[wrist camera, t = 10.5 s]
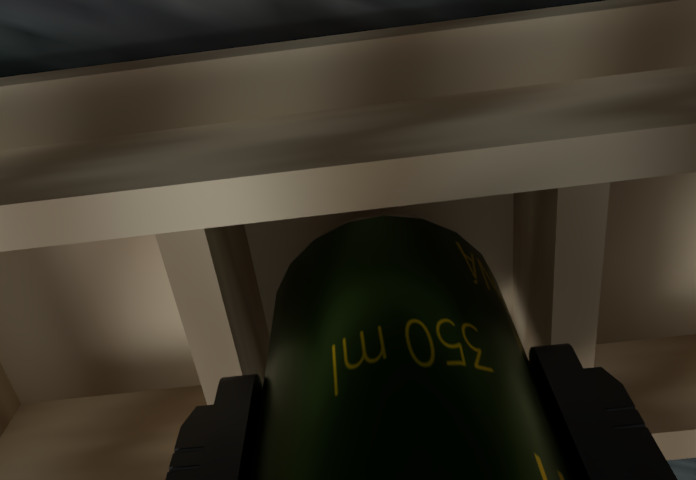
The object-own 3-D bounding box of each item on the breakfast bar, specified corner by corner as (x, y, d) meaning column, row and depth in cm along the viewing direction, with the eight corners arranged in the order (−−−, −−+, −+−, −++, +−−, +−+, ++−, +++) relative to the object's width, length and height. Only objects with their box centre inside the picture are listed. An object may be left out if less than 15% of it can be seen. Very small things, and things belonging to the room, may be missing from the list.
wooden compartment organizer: (941, -43, 15) (1164, -16, 11) (816, 361, 20) (930, 474, 16) (-181, 100, 16) (-353, 171, 12) (3, 443, 22) (-71, 566, 18)
